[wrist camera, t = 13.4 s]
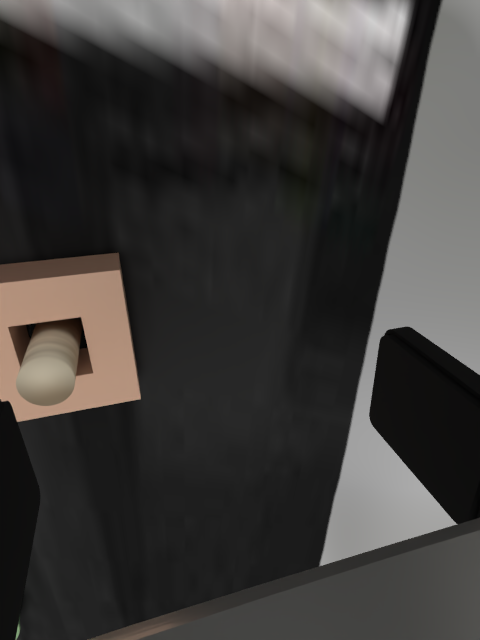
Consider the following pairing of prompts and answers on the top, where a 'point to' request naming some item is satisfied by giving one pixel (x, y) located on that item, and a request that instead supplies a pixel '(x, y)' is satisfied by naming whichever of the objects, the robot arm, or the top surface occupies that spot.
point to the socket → (64, 303)
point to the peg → (50, 362)
